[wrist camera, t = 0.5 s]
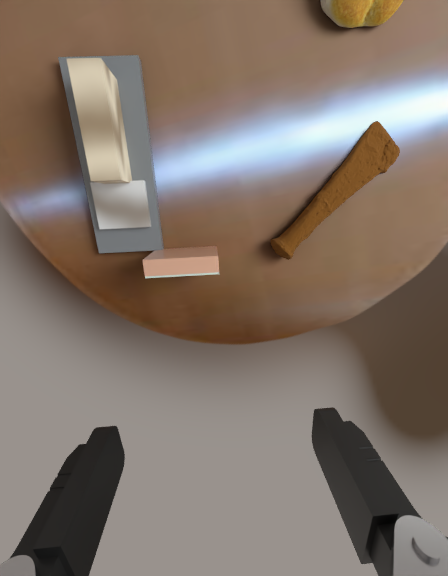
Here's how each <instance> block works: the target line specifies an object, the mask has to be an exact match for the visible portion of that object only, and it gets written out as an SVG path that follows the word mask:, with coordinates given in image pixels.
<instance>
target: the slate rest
mask: <svg viewBox="0 0 448 576" xmlns="http://www.w3.org/2000/svg"><path fill="white" fill-rule="evenodd" d="M58 58H59V63H60V68H61V73H62V78H63V83H64V87H65V92H66V97H67V102H68V107H69V111H70V116H71V121H72V126H73V131H74V135H75V140H76V145H77V150H78V155H79V159H80V164H81V169H82V174H83V179H84V183H85V188H86V193H87V198H88V203H89V207H90V212H91V217H92V222H93V227H94V231H95V236H96V241H97V246H98V251H99V253H114V252H134V251H153V250H163V249H164V247H163V238H162V230H161V222H160V214H159V206H158V198H157V189H156V181H155V173H154V165H153V157H152V148H151V140H150V132H149V124H148V116H147V108H146V99H145V91H144V83H143V75H142V67H141V60H140V58H139V56H138V55H132V56H88V57H58ZM72 58H101V59H102V60H103V62H104V63H105V64H106V66H107V67H108V68H109V70H110V71H111V72H112V74H113V75H114V76H115V78H116V79H117V83H118V90H119V97H120V103H121V110H122V117H123V123H124V130H125V137H126V143H127V150H128V156H129V163H130V170H131V176H132V181H139V180H144V181H145V183H146V191H147V198H148V206H149V213H150V221H151V227H138V228H117V229H99V224H98V219H97V214H96V209H95V205H94V200H93V195H92V190H91V185H90V183H91V182H93V181H91V179H90V174H89V169H88V164H87V159H86V154H85V149H84V144H83V139H82V134H81V129H80V124H79V119H78V114H77V109H76V104H75V99H74V94H73V89H72V84H71V79H70V74H69V69H68V64H67V59H72Z"/></svg>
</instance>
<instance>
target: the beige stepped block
mask: <svg viewBox="0 0 448 576" xmlns="http://www.w3.org/2000/svg"><path fill="white" fill-rule="evenodd" d="M67 64H68V69H69V74H70V79H71V84H72V89H73V94H74V99H75V104H76V109H77V114H78V119H79V124H80V129H81V134H82V139H83V144H84V149H85V154H86V159H87V164H88V169H89V174H90V179H91V181H93V182H91V183H90V185H91V190H92V195H93V200H94V205H95V209H96V214H97V219H98V224H99V229H117V228H138V227H151V221H150V213H149V206H148V198H147V191H146V183H145V181H144V180H139V181H132V176H131V170H130V163H129V156H128V150H127V143H126V137H125V130H124V123H123V117H122V110H121V103H120V97H119V90H118V83H117V79H116V78H115V76H114V75H113V74H112V72H111V71H110V70H109V68H108V67H107V66H106V64H105V63H104V62H103V60H102V59H101V58H72V59H67Z"/></svg>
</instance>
